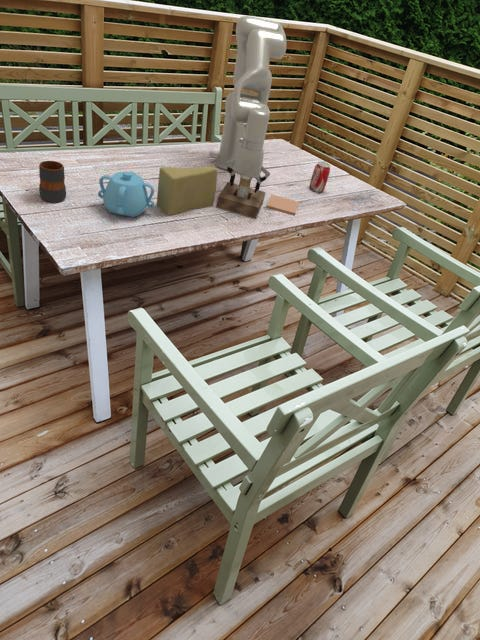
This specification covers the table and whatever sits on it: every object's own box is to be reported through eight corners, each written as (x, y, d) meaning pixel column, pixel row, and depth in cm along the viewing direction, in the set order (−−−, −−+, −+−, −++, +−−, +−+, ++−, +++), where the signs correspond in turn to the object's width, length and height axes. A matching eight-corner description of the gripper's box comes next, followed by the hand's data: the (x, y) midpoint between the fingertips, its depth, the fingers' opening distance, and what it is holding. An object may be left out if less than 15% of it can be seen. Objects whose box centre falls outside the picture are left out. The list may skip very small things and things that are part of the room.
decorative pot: (94, 201, 172) (94, 164, 164) (135, 196, 181) (137, 161, 173) (114, 223, 163) (115, 185, 154) (156, 217, 172) (160, 181, 163)
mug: (57, 187, 175) (56, 155, 168) (70, 202, 168) (69, 169, 161) (32, 189, 170) (30, 156, 163) (44, 204, 164) (42, 171, 156)
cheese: (205, 198, 191) (211, 161, 182) (219, 210, 186) (225, 172, 177) (155, 204, 179) (158, 165, 170) (167, 217, 174) (172, 177, 165)
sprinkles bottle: (242, 202, 196) (249, 169, 187) (247, 207, 193) (255, 175, 184) (232, 202, 193) (239, 169, 185) (237, 207, 190) (244, 175, 182)
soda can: (323, 194, 218) (331, 169, 211) (307, 190, 218) (315, 164, 211) (324, 189, 224) (332, 163, 216) (309, 185, 224) (316, 159, 217)
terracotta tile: (266, 207, 196) (266, 205, 195) (270, 196, 205) (271, 194, 205) (294, 215, 195) (295, 213, 194) (298, 204, 205) (298, 201, 204)
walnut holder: (216, 207, 187) (218, 196, 184) (225, 192, 200) (227, 181, 197) (256, 218, 186) (258, 207, 184) (263, 202, 199) (265, 192, 196)
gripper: (228, 141, 176) (220, 185, 186) (274, 153, 175) (263, 197, 185) (232, 135, 182) (224, 179, 192) (277, 147, 181) (266, 190, 191)
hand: (243, 188), depth 189 cm, fingers open, 9 cm apart
